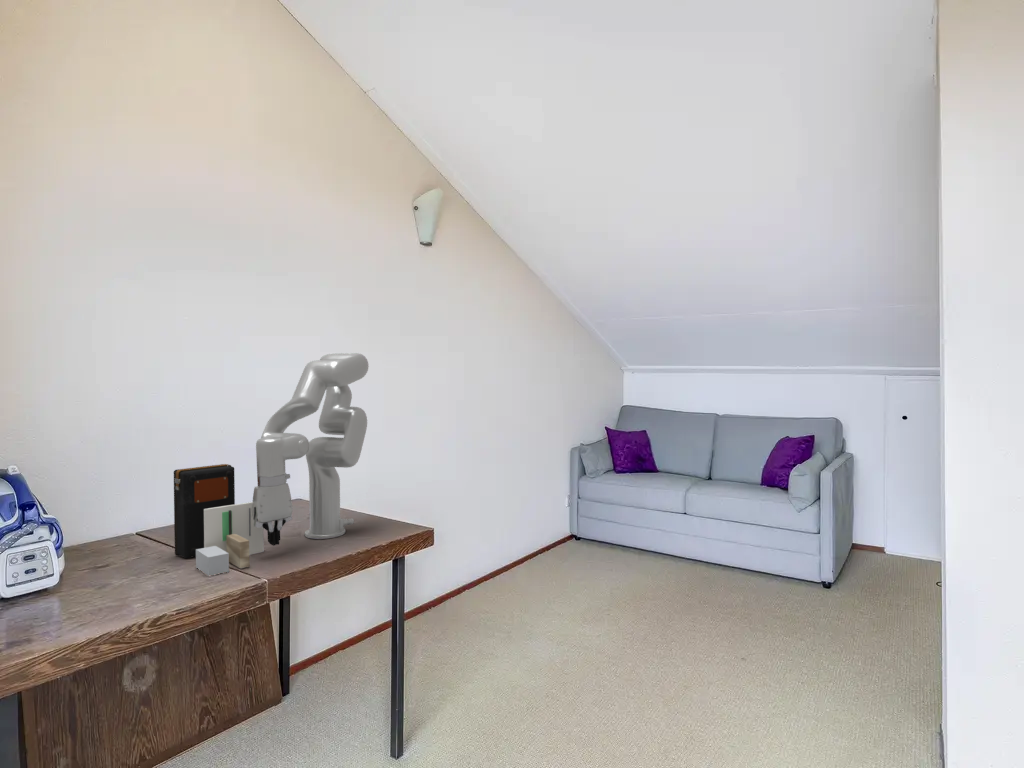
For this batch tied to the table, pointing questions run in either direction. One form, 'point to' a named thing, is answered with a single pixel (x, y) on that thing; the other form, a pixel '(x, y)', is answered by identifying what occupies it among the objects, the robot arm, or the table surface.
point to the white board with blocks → (215, 532)
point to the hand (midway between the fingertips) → (274, 543)
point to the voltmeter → (198, 502)
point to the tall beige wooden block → (237, 547)
